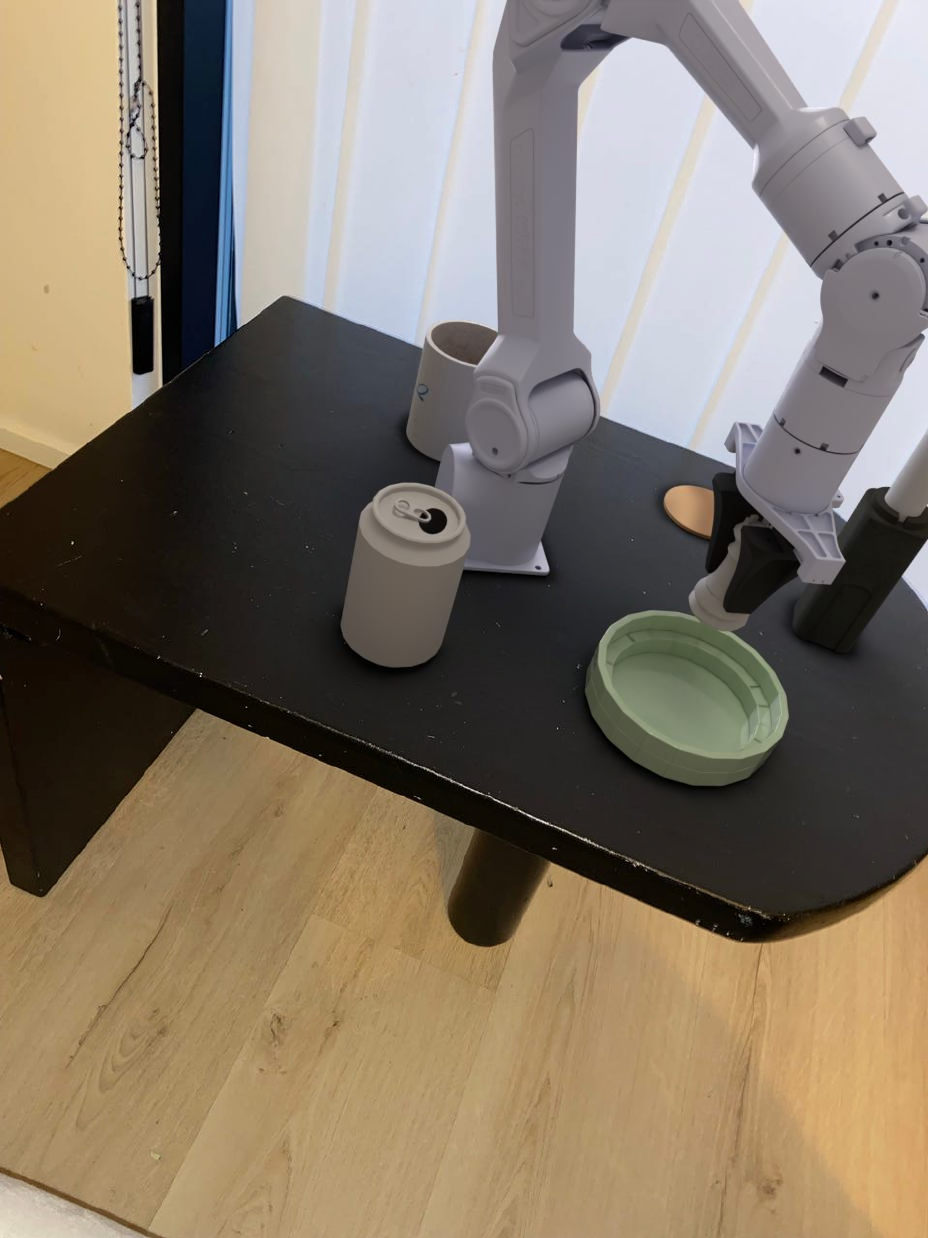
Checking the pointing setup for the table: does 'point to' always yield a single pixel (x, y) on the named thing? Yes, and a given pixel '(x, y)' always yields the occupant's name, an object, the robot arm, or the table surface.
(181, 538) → the table surface
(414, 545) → the can
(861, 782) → the table surface
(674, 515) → the coaster
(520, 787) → the table surface
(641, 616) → the dish
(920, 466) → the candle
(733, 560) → the rook chess piece
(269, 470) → the table surface
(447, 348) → the mug
